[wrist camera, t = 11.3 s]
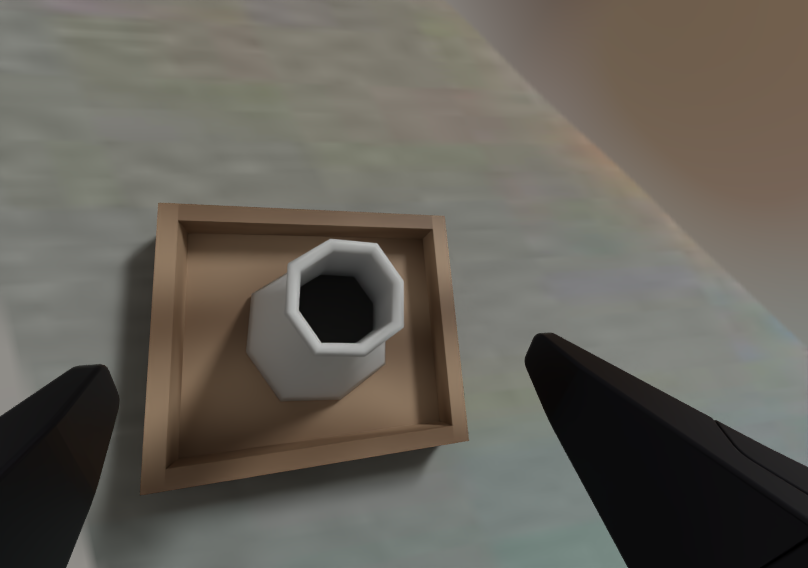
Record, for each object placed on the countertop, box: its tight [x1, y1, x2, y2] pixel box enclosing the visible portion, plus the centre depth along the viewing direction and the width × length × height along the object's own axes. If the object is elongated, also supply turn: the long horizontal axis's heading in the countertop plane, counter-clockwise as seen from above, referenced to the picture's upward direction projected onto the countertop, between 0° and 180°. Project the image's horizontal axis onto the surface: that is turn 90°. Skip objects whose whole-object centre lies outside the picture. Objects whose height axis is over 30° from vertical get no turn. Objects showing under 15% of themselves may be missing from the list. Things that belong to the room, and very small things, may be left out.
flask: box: [246, 239, 404, 401], centre depth 14 cm, size 7×7×10 cm
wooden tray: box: [140, 203, 469, 495], centre depth 18 cm, size 12×14×2 cm
